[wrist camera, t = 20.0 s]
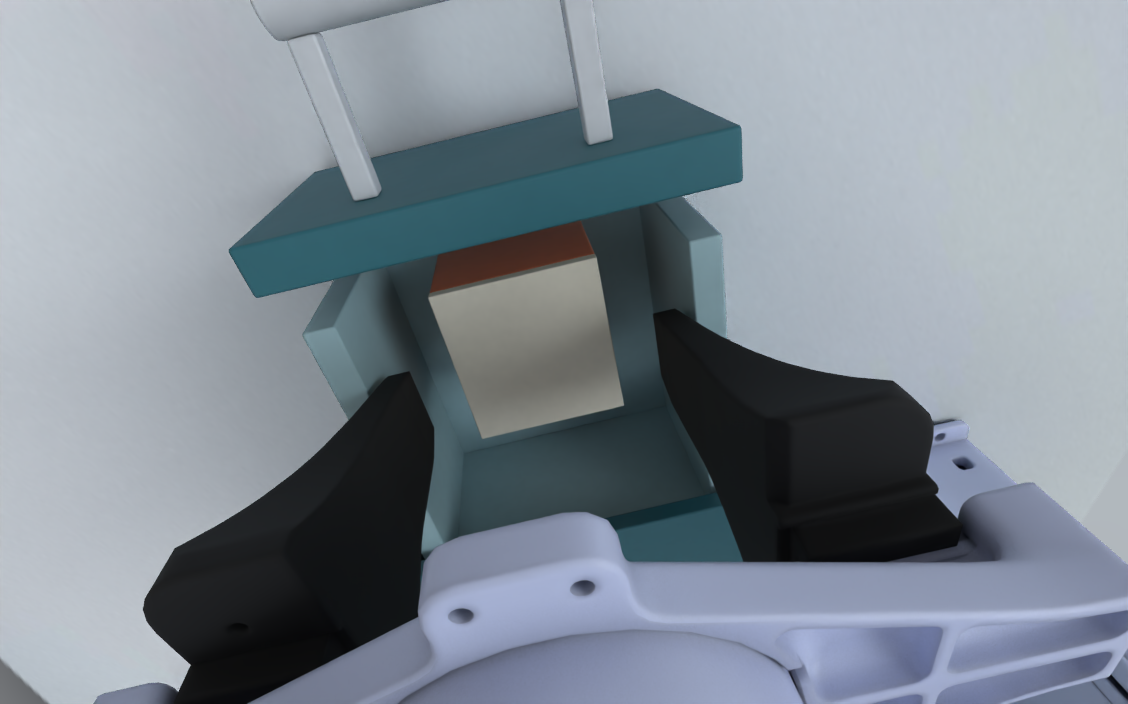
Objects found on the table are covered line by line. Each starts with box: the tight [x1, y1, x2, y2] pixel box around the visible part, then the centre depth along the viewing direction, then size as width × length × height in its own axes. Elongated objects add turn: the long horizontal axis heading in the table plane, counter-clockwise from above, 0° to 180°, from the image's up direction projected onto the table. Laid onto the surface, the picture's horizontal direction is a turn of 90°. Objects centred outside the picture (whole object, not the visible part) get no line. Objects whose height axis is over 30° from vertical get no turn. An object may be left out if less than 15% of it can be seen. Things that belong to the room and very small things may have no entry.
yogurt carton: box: [428, 221, 624, 439], centre depth 17 cm, size 5×4×4 cm
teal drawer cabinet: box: [420, 492, 743, 590], centre depth 23 cm, size 13×12×8 cm
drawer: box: [229, 0, 743, 560], centre depth 16 cm, size 17×11×7 cm, turn 12°
